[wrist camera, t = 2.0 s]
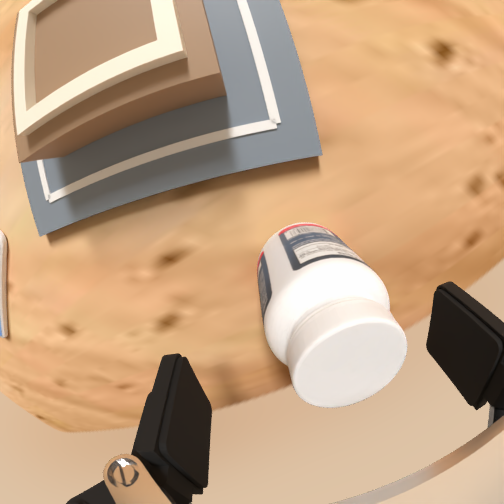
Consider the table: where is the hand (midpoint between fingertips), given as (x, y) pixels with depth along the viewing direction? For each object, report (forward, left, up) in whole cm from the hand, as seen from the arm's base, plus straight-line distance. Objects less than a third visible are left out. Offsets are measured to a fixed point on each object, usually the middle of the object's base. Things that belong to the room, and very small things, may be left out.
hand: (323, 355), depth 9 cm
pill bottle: (-1, 0, -8) cm, 8 cm away
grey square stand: (+6, -15, -8) cm, 18 cm away
